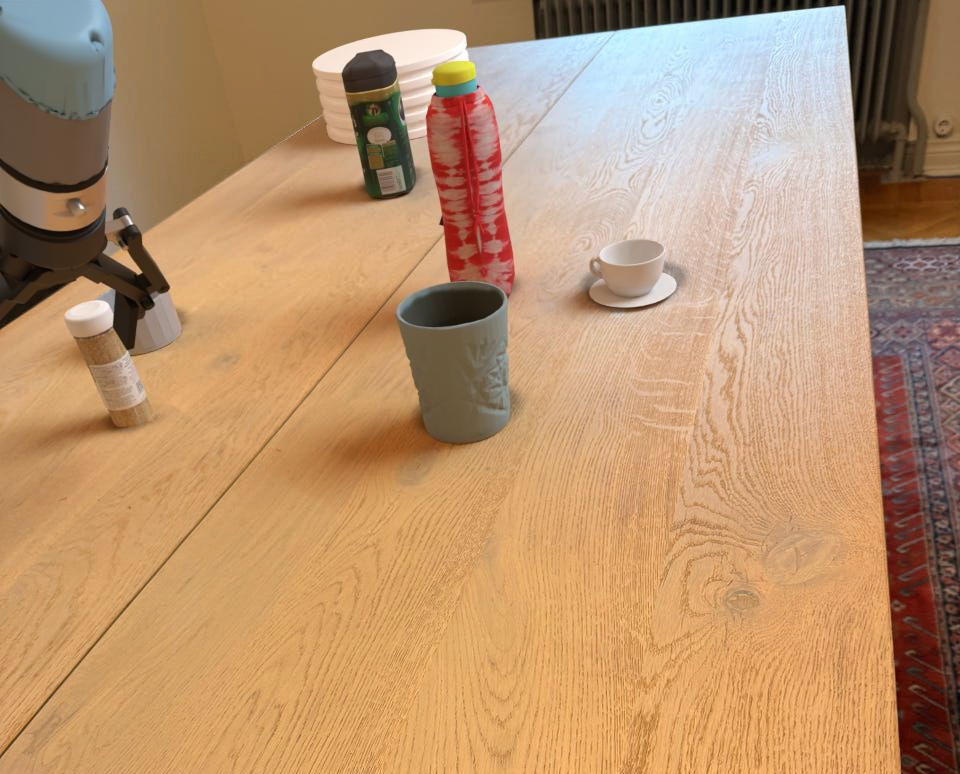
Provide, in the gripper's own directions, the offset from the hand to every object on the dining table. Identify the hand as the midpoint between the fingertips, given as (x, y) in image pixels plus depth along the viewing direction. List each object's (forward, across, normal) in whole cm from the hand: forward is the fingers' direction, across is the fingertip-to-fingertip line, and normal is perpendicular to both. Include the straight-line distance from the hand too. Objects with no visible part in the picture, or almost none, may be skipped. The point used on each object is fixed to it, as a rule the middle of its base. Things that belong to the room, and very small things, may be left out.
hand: (53, 358), depth 86 cm
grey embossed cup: (-7, +31, -23) cm, 39 cm away
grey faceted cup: (+26, +19, +14) cm, 36 cm away
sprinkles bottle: (+14, +8, -3) cm, 16 cm away
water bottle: (+5, +51, -5) cm, 51 cm away
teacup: (-6, +61, -16) cm, 63 cm away
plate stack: (+48, +93, +54) cm, 118 cm away
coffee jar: (+31, +69, +29) cm, 81 cm away
